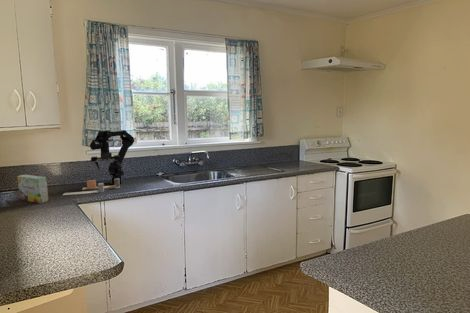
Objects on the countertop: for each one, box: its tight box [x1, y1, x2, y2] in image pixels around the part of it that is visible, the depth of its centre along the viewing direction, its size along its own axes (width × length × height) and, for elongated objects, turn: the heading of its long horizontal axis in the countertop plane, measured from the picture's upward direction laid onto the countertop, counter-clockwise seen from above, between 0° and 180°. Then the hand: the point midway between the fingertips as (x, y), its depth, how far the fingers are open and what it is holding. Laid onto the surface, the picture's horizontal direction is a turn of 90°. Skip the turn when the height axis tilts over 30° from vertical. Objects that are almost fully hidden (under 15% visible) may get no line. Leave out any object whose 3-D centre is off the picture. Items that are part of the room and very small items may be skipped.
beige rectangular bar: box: [81, 178, 121, 191], centre depth 228 cm, size 24×6×6 cm, turn 105°
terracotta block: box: [86, 179, 97, 190], centre depth 227 cm, size 5×5×5 cm
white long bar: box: [62, 182, 105, 196], centre depth 214 cm, size 24×6×6 cm, turn 105°
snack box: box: [16, 174, 50, 204], centre depth 199 cm, size 21×6×15 cm, turn 62°
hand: (106, 170), depth 234 cm, fingers open, 9 cm apart
